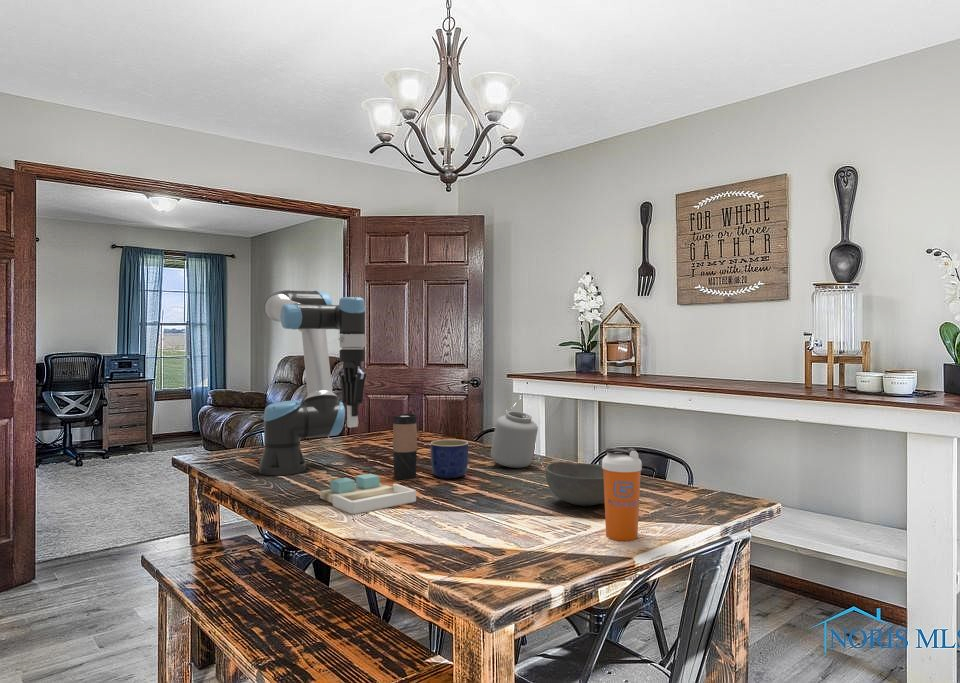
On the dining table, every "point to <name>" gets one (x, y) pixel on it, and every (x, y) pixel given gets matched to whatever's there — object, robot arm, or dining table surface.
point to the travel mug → (404, 446)
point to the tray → (376, 500)
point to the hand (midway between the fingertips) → (352, 426)
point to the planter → (449, 458)
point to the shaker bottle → (621, 493)
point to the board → (357, 493)
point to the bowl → (576, 482)
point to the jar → (514, 440)
